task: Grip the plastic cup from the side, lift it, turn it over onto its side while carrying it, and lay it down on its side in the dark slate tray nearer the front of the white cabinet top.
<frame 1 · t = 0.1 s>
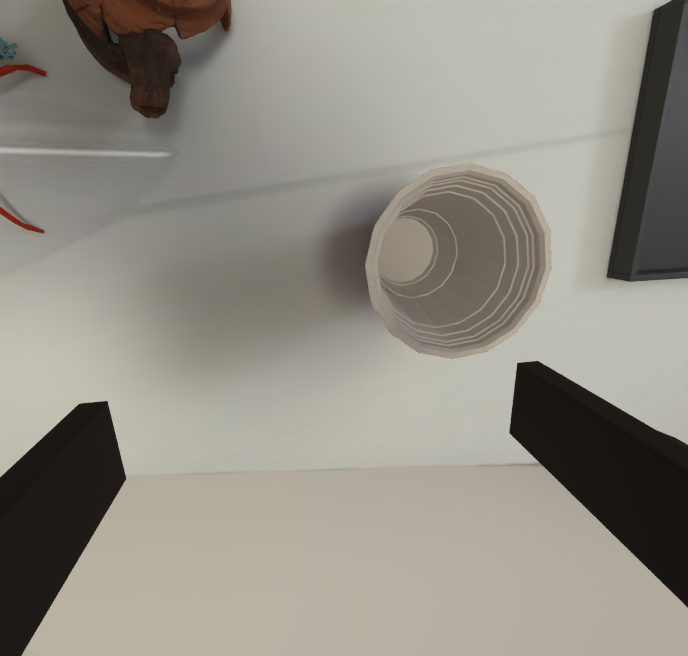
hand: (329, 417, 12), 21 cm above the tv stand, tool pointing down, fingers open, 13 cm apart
brown toy animal: (160, 34, 26), on the tv stand
plastic cup: (399, 248, 32), on the tv stand
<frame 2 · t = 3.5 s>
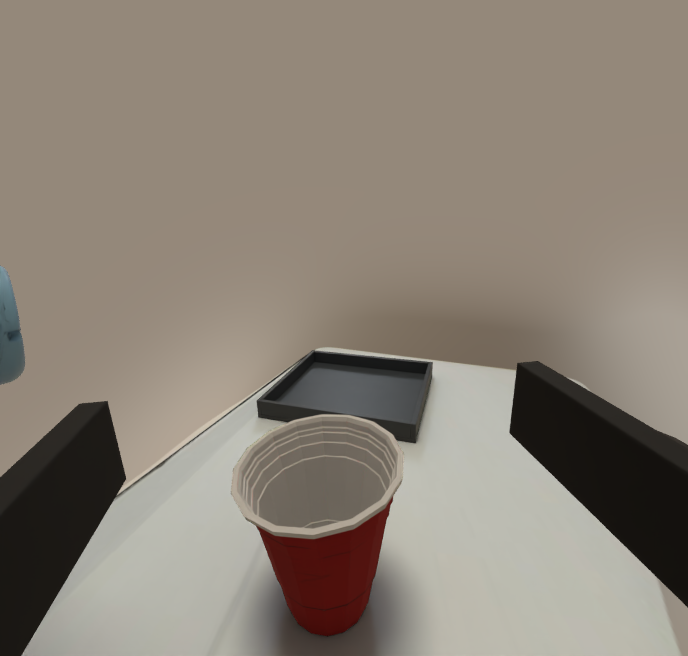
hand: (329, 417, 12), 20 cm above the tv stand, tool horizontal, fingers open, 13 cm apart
plastic cup: (325, 597, 27), on the tv stand
tray: (353, 394, 57), on the tv stand
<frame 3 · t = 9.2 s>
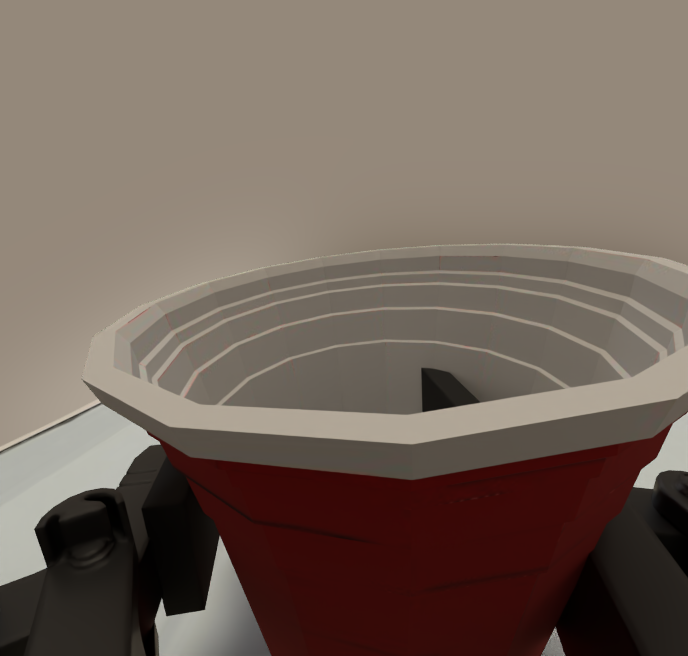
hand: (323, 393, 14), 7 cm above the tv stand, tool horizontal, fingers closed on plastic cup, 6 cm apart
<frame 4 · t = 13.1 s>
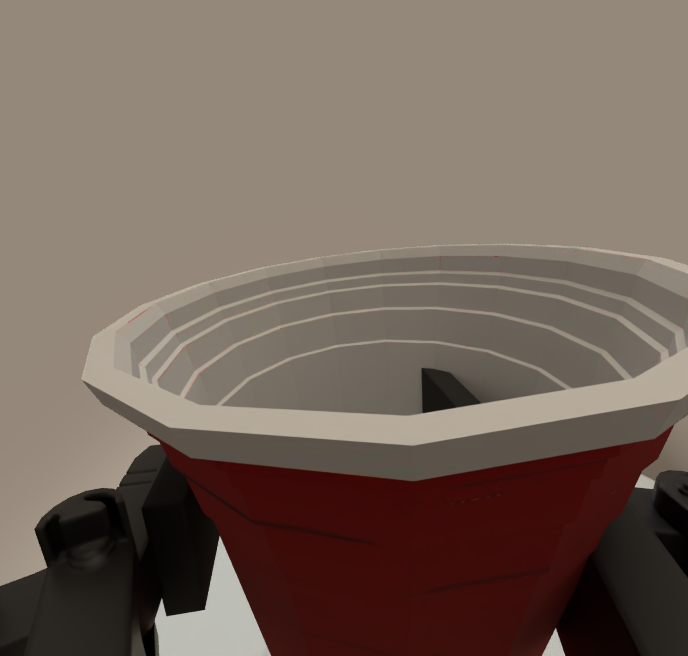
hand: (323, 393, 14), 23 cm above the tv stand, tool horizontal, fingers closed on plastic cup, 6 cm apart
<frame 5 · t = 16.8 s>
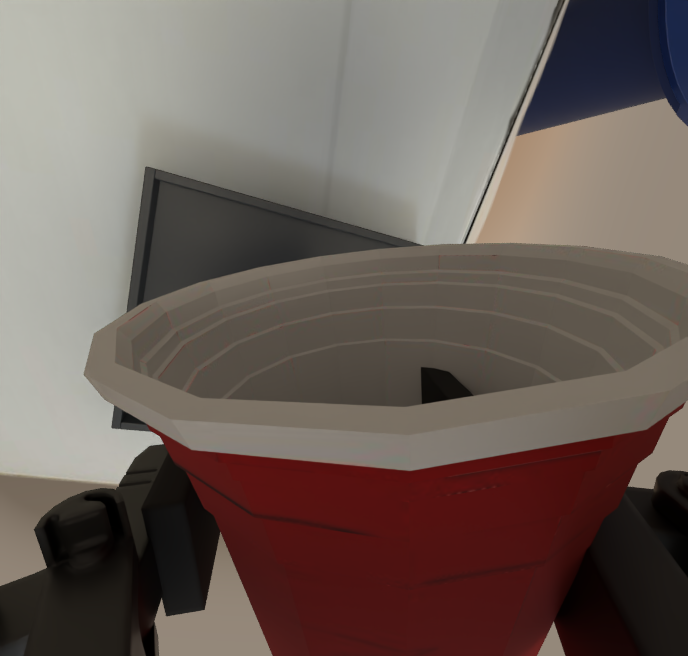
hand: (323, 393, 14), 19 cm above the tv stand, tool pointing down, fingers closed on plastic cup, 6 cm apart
tray: (273, 325, 32), on the tv stand
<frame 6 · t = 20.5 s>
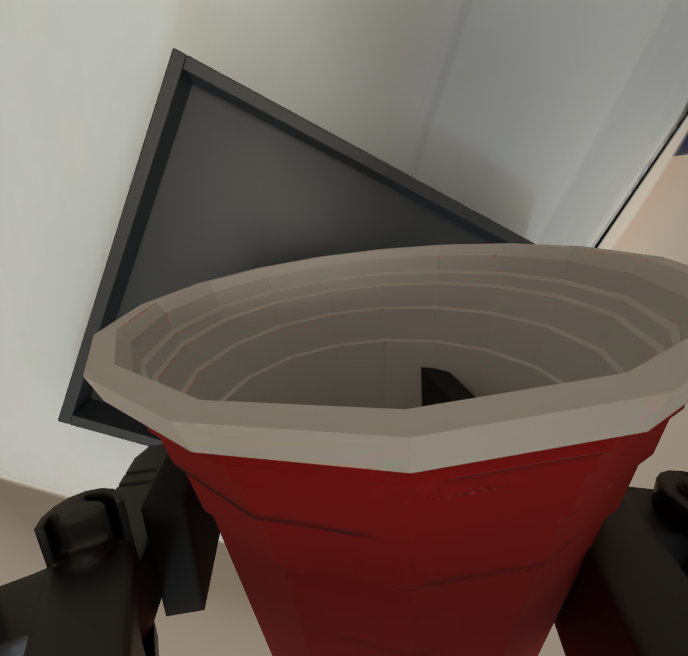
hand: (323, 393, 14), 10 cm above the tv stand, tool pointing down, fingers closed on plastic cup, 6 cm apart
tray: (308, 321, 23), on the tv stand
when the fingers open (1 cm above the tv stand, at t = 23.3 s): plastic cup drops 1 cm, resting on tray.
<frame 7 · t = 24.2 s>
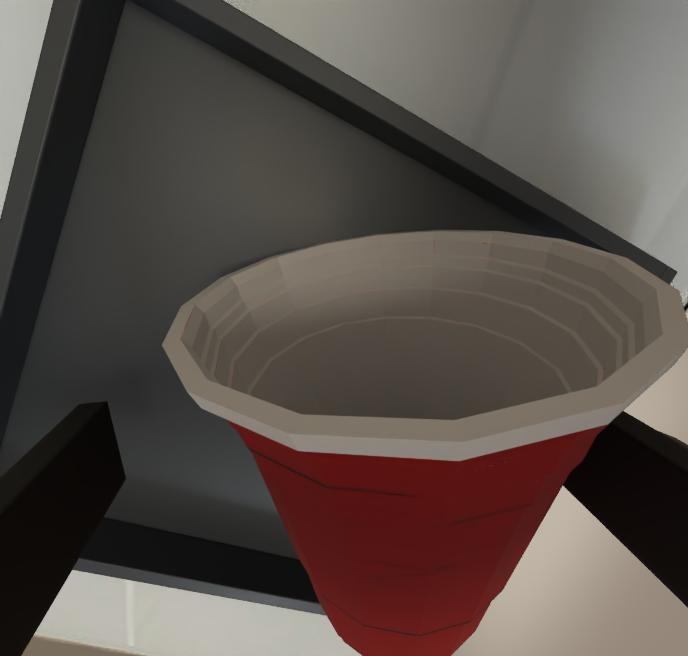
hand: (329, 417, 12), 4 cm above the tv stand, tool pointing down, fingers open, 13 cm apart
plastic cup: (391, 583, 14), point 4 cm above the tv stand, touching tray
tray: (315, 371, 16), on the tv stand
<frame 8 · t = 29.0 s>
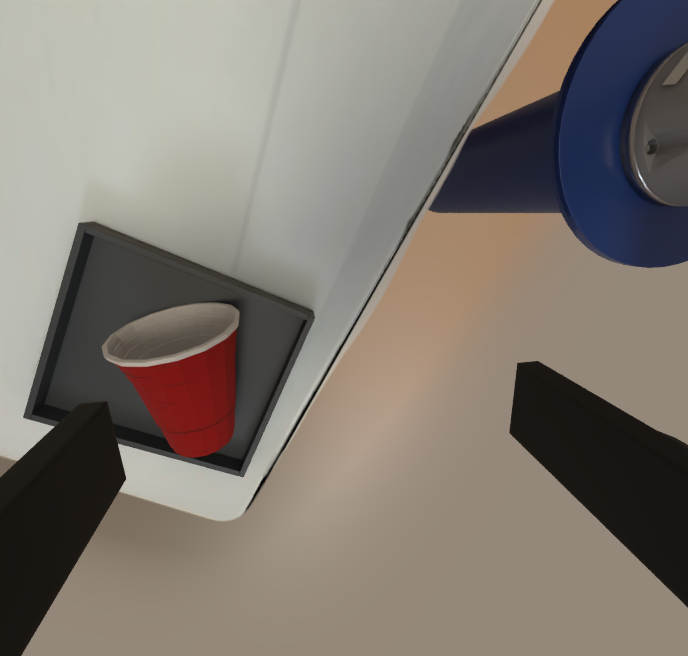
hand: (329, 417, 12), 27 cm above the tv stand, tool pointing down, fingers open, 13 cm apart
plastic cup: (201, 438, 36), point 4 cm above the tv stand, touching tray
tray: (178, 357, 38), on the tv stand
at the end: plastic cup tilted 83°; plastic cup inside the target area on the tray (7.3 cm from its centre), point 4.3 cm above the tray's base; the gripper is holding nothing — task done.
